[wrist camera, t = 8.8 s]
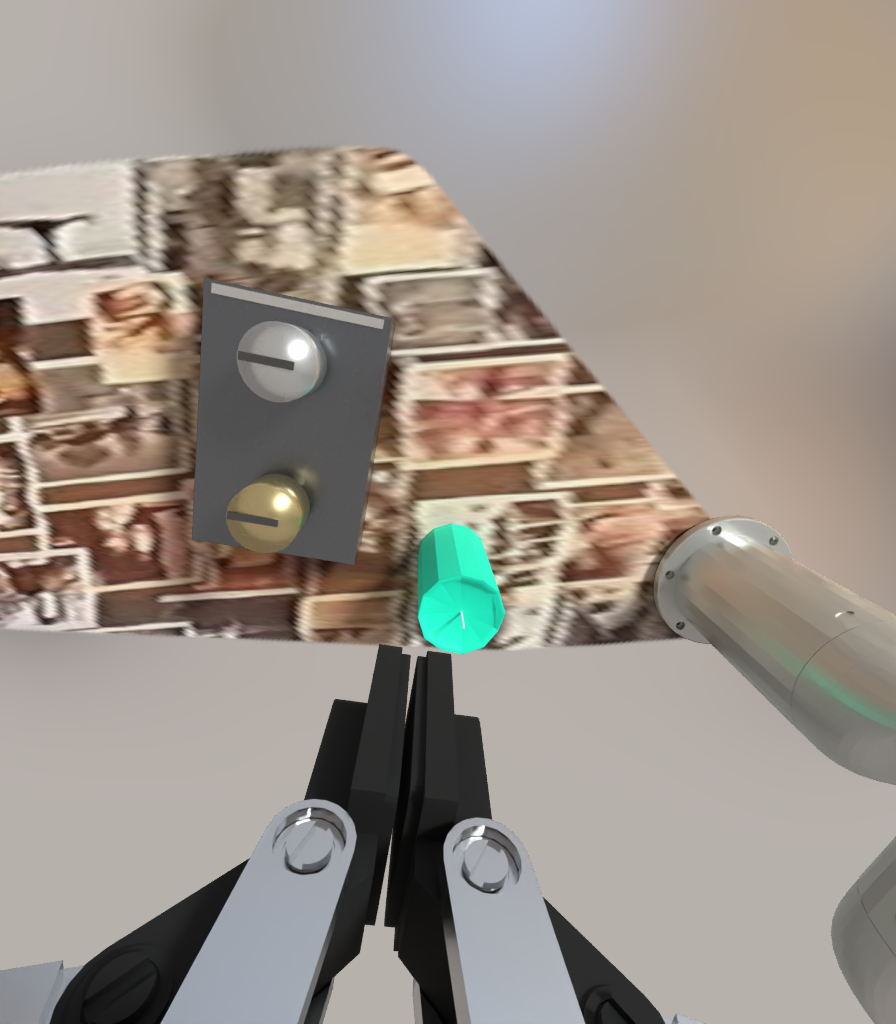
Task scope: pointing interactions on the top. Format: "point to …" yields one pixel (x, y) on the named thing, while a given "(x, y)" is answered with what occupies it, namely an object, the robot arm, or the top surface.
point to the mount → (290, 419)
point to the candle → (457, 590)
